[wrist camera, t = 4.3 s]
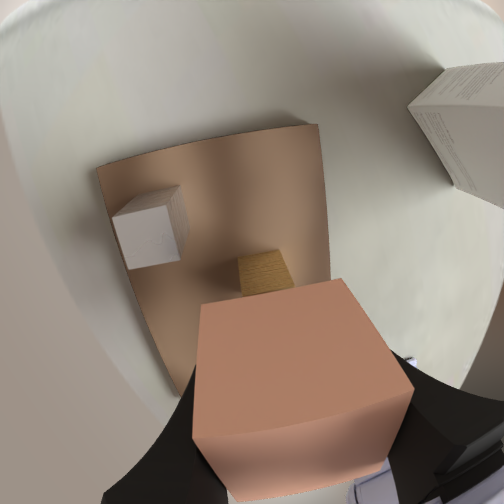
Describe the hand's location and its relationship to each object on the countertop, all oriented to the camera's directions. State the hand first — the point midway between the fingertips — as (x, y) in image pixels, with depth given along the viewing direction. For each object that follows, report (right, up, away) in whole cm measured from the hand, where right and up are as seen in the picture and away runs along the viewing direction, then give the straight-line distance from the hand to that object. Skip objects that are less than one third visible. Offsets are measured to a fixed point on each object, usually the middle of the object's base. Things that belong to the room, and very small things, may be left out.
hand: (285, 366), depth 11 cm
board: (-3, +2, +10) cm, 10 cm away
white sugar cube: (-6, +7, +5) cm, 11 cm away
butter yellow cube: (-1, +3, +8) cm, 8 cm away
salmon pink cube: (0, +1, +1) cm, 1 cm away
